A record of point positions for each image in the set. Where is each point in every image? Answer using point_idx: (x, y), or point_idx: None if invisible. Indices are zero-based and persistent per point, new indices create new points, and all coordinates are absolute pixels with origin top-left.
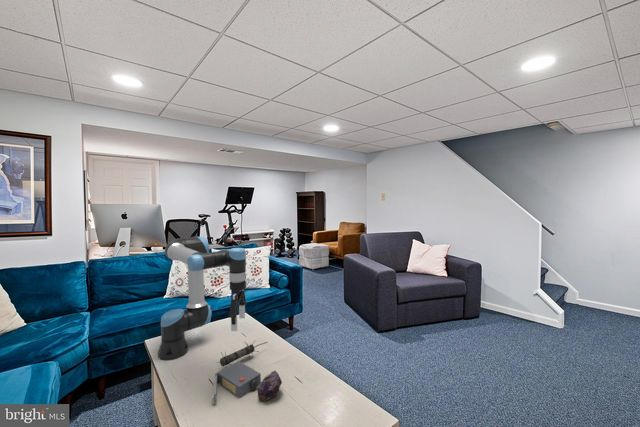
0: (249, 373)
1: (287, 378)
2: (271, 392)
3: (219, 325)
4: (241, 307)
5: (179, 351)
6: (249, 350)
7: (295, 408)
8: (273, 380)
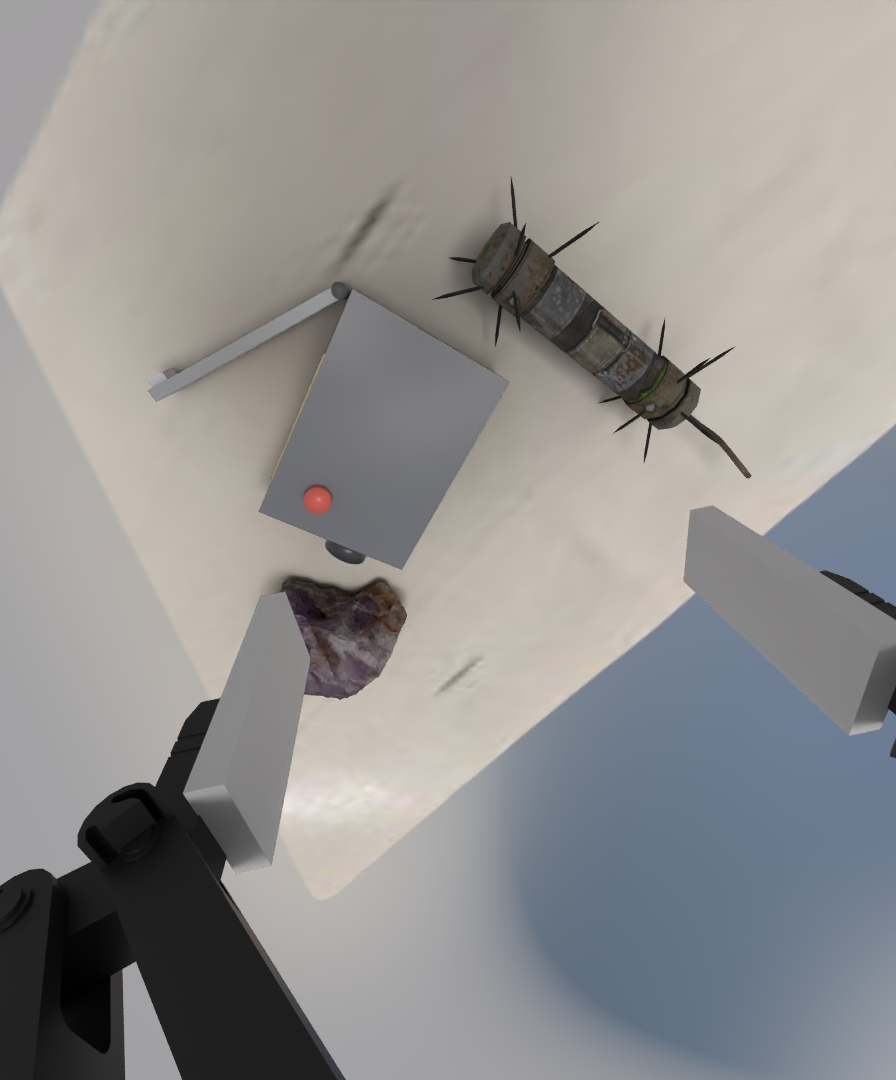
0: (388, 513)
1: (458, 636)
2: None
3: None
4: (831, 659)
5: None
6: (636, 407)
7: None
8: (316, 678)
